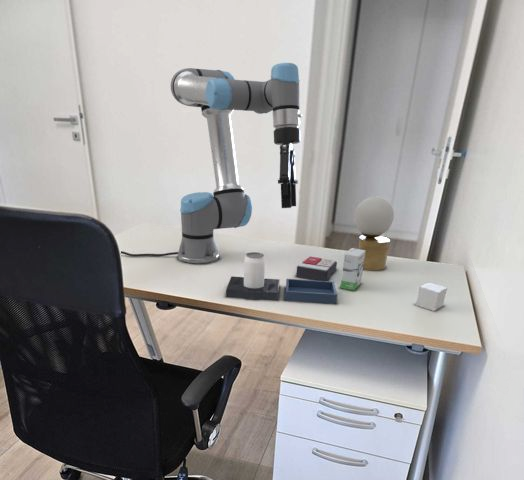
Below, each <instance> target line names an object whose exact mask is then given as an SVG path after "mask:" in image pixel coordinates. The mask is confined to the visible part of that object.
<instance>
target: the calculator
mask: <svg viewBox="0 0 524 480" xmlns="http://www.w3.org/2000/svg"><path fill="white" fill-rule="evenodd" d="M337 265H338V261H337V260H335V259H329V258H322V257H316V256H308V257H307V258H306V259H305V260H303V261H302V262H301V263H299V264H298V265H297V266H296V272H295V273H296V274H295V276H296V277H298V278H304V279H308V280H316V281H329V279H330V276H331V275H332V274H334V272H335V271H336V270H337Z"/></svg>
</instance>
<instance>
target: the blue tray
mask: <svg viewBox="0 0 524 480" xmlns="http://www.w3.org/2000/svg"><path fill="white" fill-rule="evenodd" d="M337 297H338V292H337V288H336V284H335V281H331V280H330V281H329V280H327V281H321V280H315V279H299V278H298V279H297V278H286V281H285V294H284V301H285V302H298V303H299V302H300V303H315V304H332V305H336V304H337Z"/></svg>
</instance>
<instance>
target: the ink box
mask: <svg viewBox="0 0 524 480" xmlns="http://www.w3.org/2000/svg"><path fill="white" fill-rule="evenodd" d="M364 257H365V250H360V249H358V248H355V247H351V248H349V250H348V251H346V252H345V253H344V258H343V265H342V273H341V279H340V280H341V281H340V287H339V288H340V289H345V290H350V291H355V290H356V289H357V288H358V287H359V286H360V285H361V282H362V275H363V270H364V269H363V263H364Z"/></svg>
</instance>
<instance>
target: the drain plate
mask: <svg viewBox="0 0 524 480" xmlns="http://www.w3.org/2000/svg"><path fill="white" fill-rule="evenodd" d="M280 283H281V282H280V278H266V277H264V287H261V288H248V287H245V286H244V276H233V275H232V276H230V278H229V281H228V283H227V286H226V288H225V297H226V298H235V299H244V300H253V301H254V300H255V301H258V300H264V301H265V300H266V301H267V300H268V301H278V300H279V294H280V293H279V292H280Z"/></svg>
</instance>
